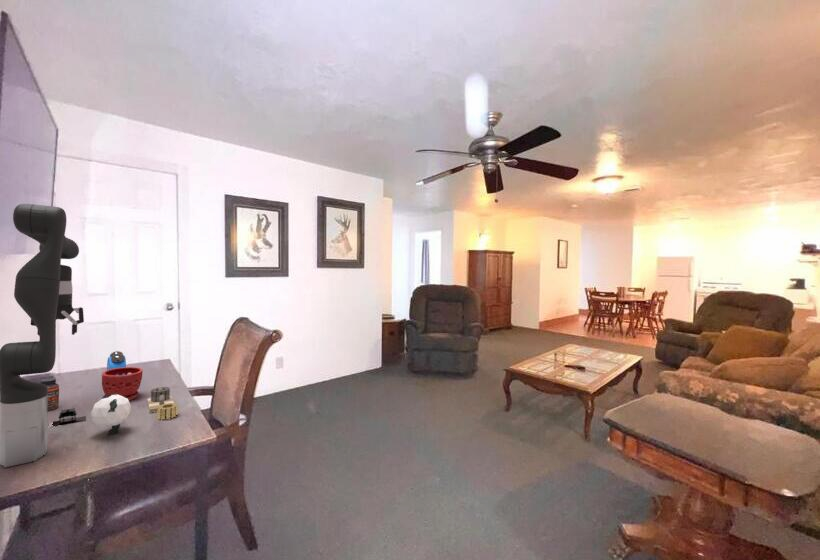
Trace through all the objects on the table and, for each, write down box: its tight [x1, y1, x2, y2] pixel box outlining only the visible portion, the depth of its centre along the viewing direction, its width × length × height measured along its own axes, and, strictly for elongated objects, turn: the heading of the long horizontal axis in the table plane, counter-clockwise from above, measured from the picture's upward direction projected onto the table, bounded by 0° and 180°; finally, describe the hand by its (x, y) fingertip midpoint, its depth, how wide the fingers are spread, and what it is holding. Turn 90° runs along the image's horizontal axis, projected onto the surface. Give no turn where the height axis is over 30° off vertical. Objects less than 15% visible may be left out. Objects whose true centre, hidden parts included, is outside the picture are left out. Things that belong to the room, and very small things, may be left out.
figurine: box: [90, 393, 132, 437], centre depth 118 cm, size 18×10×13 cm, turn 38°
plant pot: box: [101, 366, 143, 401], centre depth 147 cm, size 13×13×12 cm
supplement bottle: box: [40, 377, 60, 412], centre depth 135 cm, size 6×6×11 cm
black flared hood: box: [52, 407, 87, 427], centre depth 125 cm, size 12×7×5 cm, turn 131°
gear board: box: [146, 386, 175, 414], centre depth 142 cm, size 14×8×6 cm, turn 39°
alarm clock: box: [106, 350, 127, 375], centre depth 163 cm, size 13×6×15 cm, turn 44°
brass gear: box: [156, 402, 179, 421], centre depth 132 cm, size 6×6×4 cm
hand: (57, 335), depth 135 cm, fingers open, 8 cm apart
